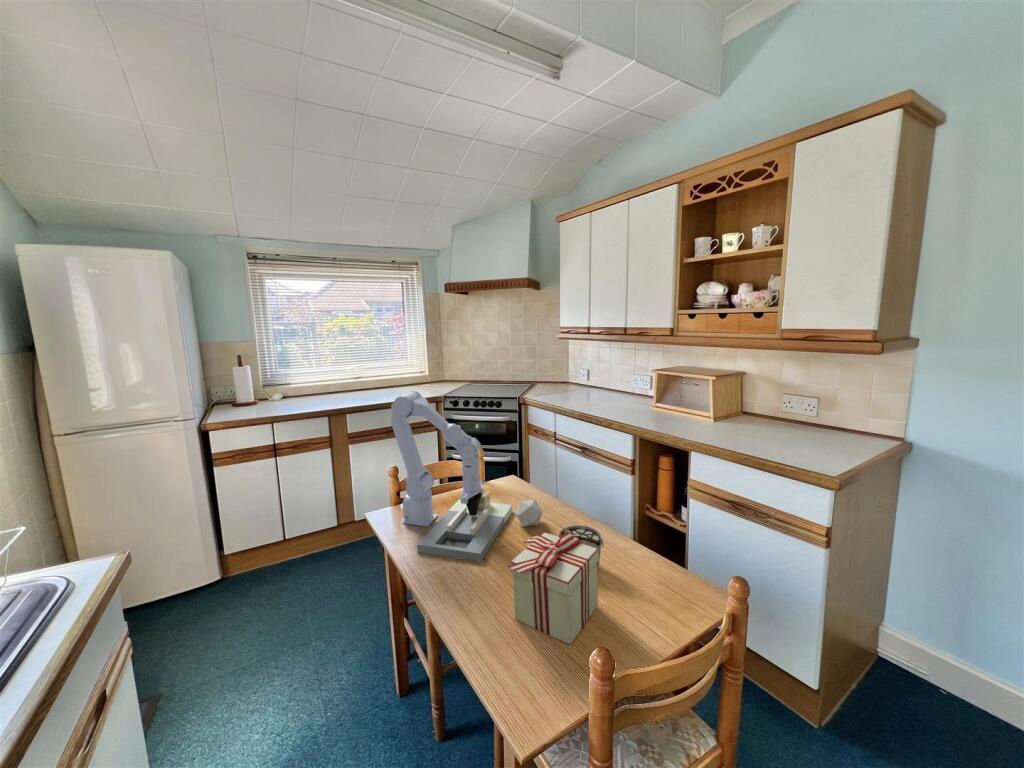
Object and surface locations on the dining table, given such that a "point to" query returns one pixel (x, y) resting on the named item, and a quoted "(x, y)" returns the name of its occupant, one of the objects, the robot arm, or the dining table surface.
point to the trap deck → (465, 532)
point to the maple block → (484, 501)
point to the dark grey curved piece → (585, 536)
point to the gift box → (555, 585)
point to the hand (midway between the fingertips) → (473, 514)
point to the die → (529, 513)
